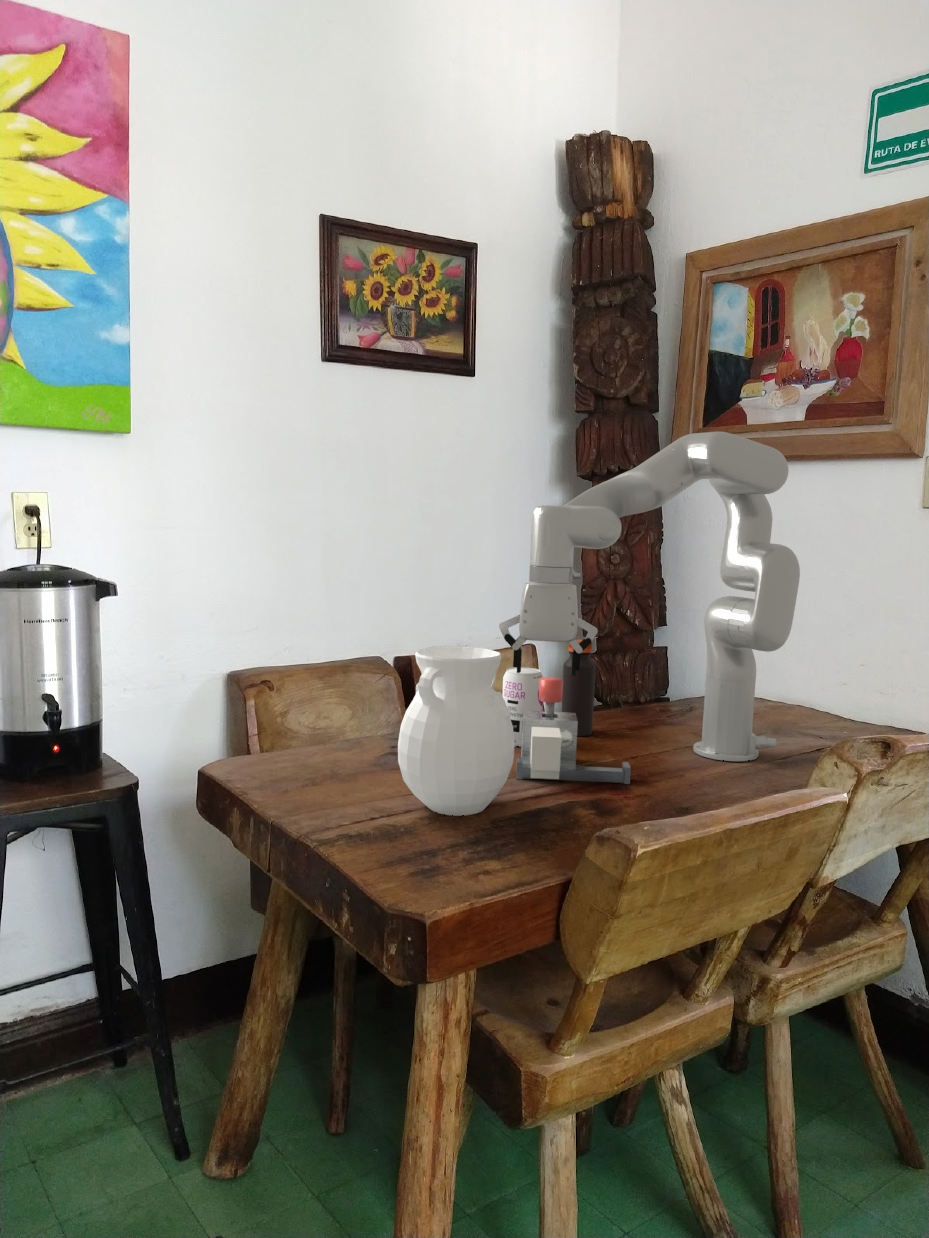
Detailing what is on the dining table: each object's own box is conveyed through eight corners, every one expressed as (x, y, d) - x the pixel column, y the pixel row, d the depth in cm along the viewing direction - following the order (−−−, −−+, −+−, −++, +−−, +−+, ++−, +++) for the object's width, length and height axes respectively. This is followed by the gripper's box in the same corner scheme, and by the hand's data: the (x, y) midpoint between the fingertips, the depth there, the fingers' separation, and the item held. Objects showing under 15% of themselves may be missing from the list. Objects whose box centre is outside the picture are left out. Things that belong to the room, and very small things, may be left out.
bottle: (554, 730, 200) (558, 639, 197) (581, 728, 202) (586, 638, 200) (570, 737, 193) (574, 643, 191) (598, 735, 196) (602, 642, 194)
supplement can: (540, 738, 192) (543, 667, 190) (540, 748, 184) (543, 675, 182) (502, 736, 193) (504, 666, 191) (499, 746, 185) (502, 673, 183)
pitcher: (448, 781, 160) (452, 639, 157) (534, 805, 149) (541, 652, 146) (371, 806, 146) (374, 650, 143) (461, 835, 135) (466, 666, 131)
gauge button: (560, 718, 176) (562, 677, 175) (561, 724, 171) (563, 681, 170) (537, 717, 176) (539, 676, 175) (538, 723, 171) (539, 680, 170)
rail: (627, 778, 166) (628, 761, 165) (629, 784, 162) (630, 767, 162) (516, 773, 167) (516, 757, 166) (516, 778, 163) (516, 762, 163)
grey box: (573, 758, 178) (575, 712, 177) (575, 769, 170) (577, 721, 169) (521, 756, 178) (523, 710, 177) (521, 766, 171) (523, 719, 170)
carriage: (557, 769, 168) (559, 727, 167) (559, 781, 161) (561, 737, 160) (529, 768, 168) (531, 726, 167) (530, 779, 161) (532, 736, 160)
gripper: (599, 577, 164) (593, 671, 166) (502, 573, 165) (497, 667, 167) (602, 580, 157) (596, 679, 159) (500, 575, 158) (496, 674, 160)
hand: (545, 672), depth 163 cm, fingers open, 9 cm apart
